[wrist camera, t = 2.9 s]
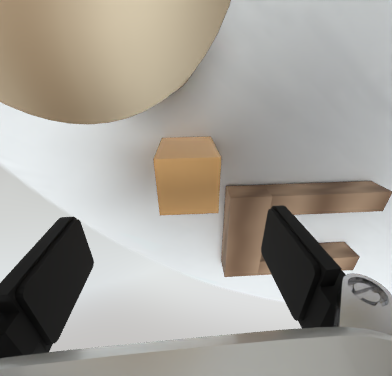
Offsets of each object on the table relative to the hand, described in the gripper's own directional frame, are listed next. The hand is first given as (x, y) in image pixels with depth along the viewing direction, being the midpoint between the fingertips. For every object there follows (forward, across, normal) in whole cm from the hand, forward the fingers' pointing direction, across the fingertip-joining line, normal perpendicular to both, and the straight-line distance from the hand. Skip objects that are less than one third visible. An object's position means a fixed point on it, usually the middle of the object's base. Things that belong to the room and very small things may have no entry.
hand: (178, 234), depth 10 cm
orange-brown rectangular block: (+11, -1, 0) cm, 11 cm away
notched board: (+10, -13, +8) cm, 18 cm away
